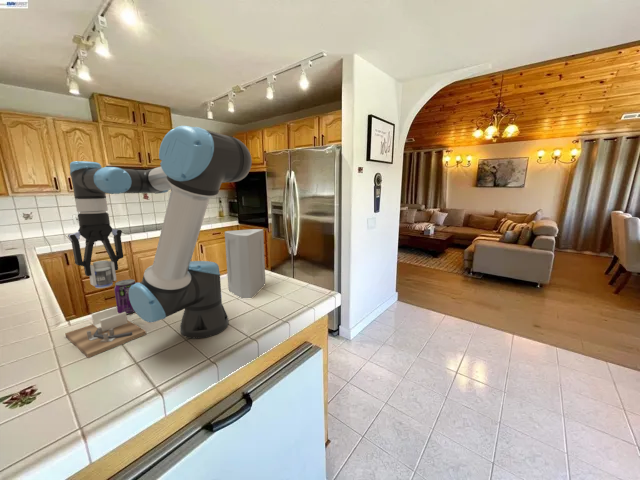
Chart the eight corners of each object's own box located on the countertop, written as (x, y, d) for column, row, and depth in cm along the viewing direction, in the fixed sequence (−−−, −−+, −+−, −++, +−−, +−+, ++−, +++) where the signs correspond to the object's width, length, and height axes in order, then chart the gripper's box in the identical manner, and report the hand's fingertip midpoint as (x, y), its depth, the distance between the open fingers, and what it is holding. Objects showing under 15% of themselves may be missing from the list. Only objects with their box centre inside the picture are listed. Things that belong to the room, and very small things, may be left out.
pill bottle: (91, 288, 86) (87, 263, 84) (101, 283, 91) (98, 260, 89) (106, 288, 86) (103, 263, 85) (116, 283, 91) (113, 260, 89)
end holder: (127, 323, 91) (126, 312, 91) (102, 332, 86) (101, 320, 85) (117, 316, 96) (115, 306, 95) (93, 324, 90) (91, 314, 90)
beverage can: (128, 316, 99) (124, 285, 97) (113, 314, 101) (108, 284, 98) (144, 308, 106) (140, 279, 104) (129, 306, 107) (125, 278, 105)
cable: (133, 334, 84) (133, 331, 84) (122, 341, 80) (122, 338, 80) (98, 330, 87) (98, 328, 86) (86, 337, 83) (85, 335, 82)
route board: (146, 334, 87) (144, 323, 86) (88, 357, 74) (86, 345, 74) (120, 318, 98) (118, 308, 97) (65, 336, 85) (63, 325, 84)
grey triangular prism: (238, 282, 136) (235, 228, 131) (266, 284, 134) (263, 229, 129) (219, 297, 117) (214, 234, 112) (251, 299, 115) (248, 235, 110)
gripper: (120, 210, 93) (129, 273, 97) (50, 213, 79) (64, 288, 83) (130, 211, 89) (138, 277, 93) (58, 214, 75) (72, 293, 79)
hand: (104, 282), depth 88 cm, fingers closed on pill bottle, 5 cm apart
